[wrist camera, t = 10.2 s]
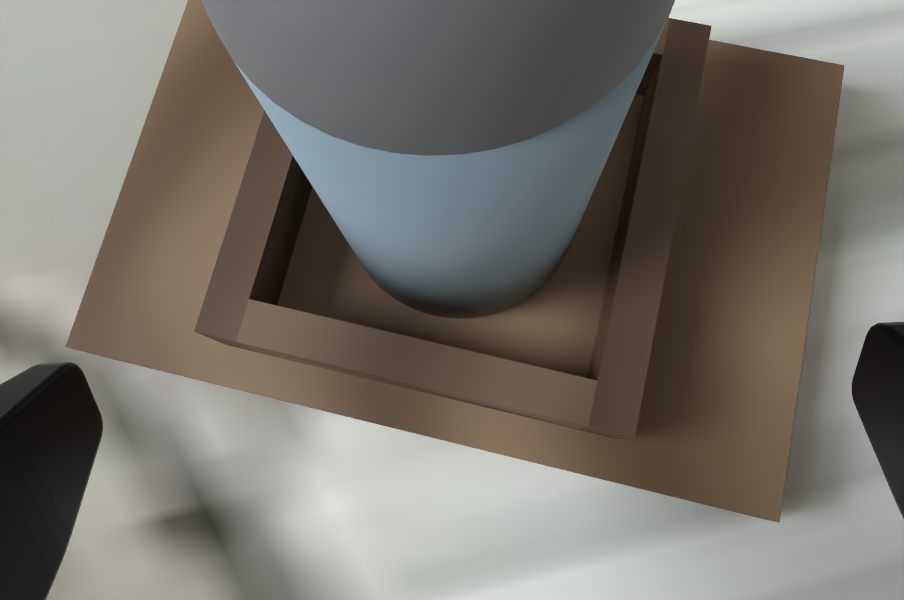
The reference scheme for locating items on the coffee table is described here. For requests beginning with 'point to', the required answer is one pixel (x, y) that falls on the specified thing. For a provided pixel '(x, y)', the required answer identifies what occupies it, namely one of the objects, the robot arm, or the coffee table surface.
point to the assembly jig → (524, 325)
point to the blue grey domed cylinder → (448, 127)
